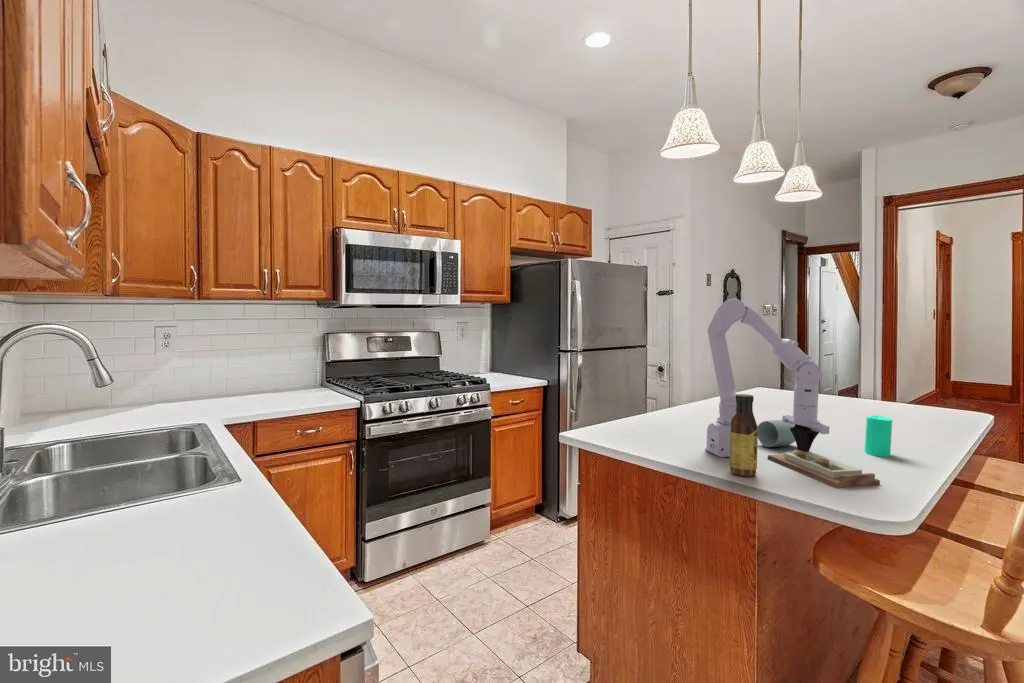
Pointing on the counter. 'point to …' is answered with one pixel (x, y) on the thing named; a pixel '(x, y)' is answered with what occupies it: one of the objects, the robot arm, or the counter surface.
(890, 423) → the candle
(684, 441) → the counter surface
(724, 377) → the robot arm
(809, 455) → the panel
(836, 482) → the board
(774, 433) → the cup
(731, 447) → the sauce bottle
